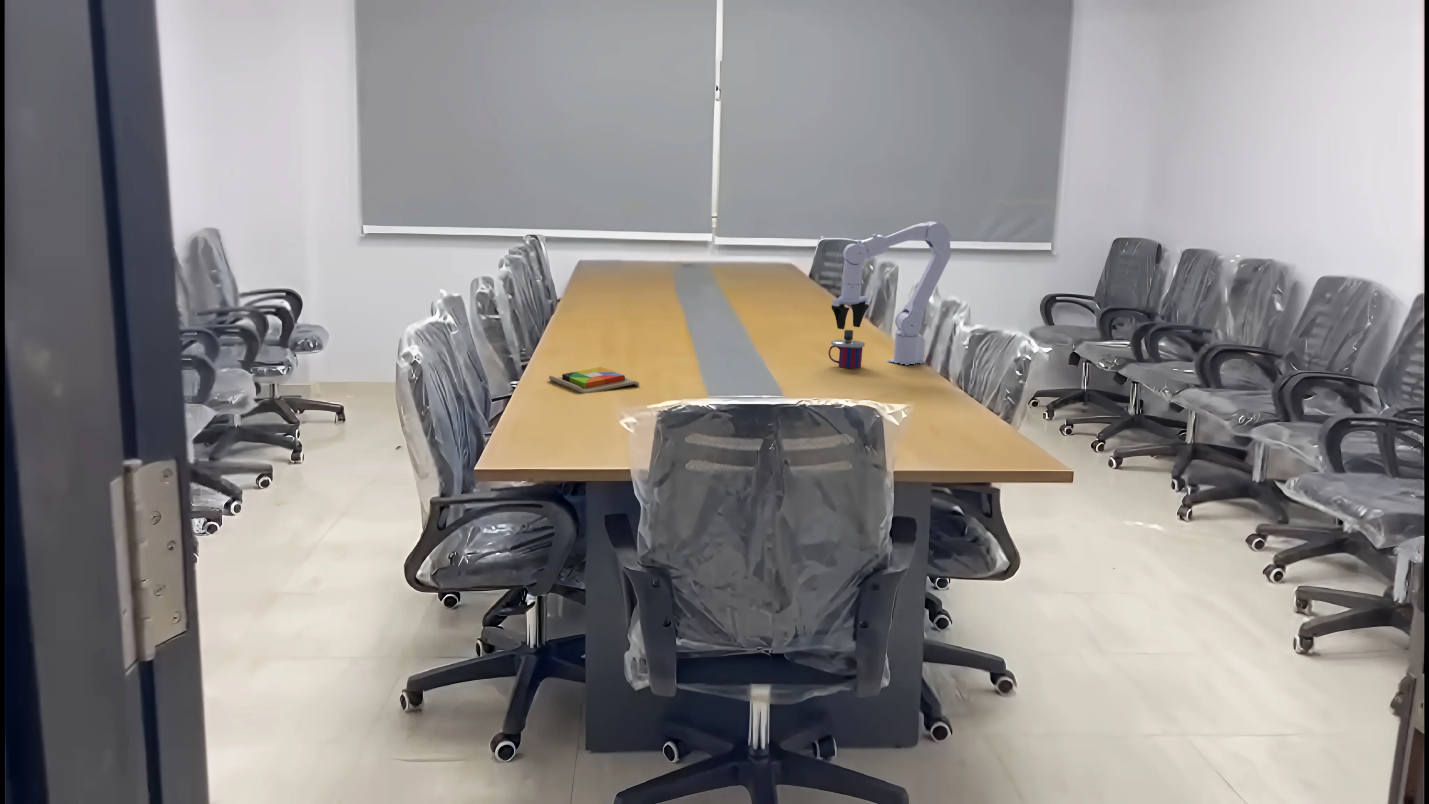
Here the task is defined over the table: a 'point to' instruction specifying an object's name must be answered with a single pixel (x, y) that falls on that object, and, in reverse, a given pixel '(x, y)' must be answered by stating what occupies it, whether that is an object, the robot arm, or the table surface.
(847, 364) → the mug
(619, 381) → the wooden puzzle
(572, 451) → the table surface
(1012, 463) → the table surface
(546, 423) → the table surface
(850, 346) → the lid
